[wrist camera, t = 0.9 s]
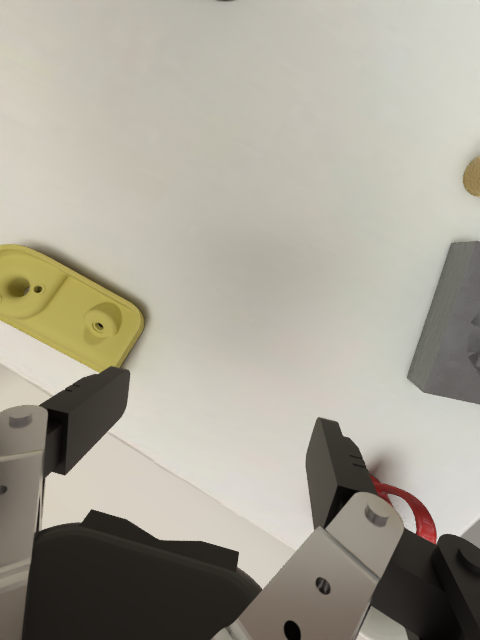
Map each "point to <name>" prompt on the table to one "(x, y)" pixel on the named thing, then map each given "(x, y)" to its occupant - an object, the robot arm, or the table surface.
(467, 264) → the jig
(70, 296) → the plastic component
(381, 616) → the mug
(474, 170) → the brass peg
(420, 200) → the table surface
